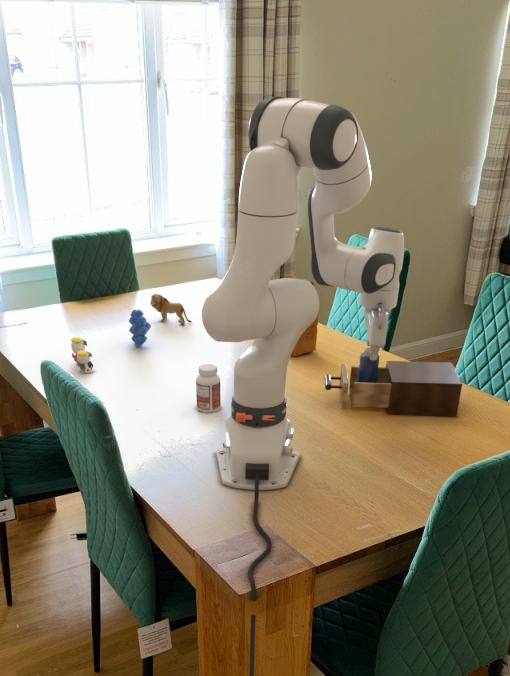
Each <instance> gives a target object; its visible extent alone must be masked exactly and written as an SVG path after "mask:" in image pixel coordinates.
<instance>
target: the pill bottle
mask: <svg viewBox="0 0 510 676" xmlns="http://www.w3.org/2000/svg"><path fill="white" fill-rule="evenodd" d="M195 393H196V394H195V395H196V408H197V410H199V411H200V412H203V413H213V412H217V411H218V410H220V409H221V407H222V405H221V402H222V400H221V377H220V375H218V366H217V365H215V364H211V363H206V364H201V365H200V366H198V375H197V376H196V377H195Z"/></svg>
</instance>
